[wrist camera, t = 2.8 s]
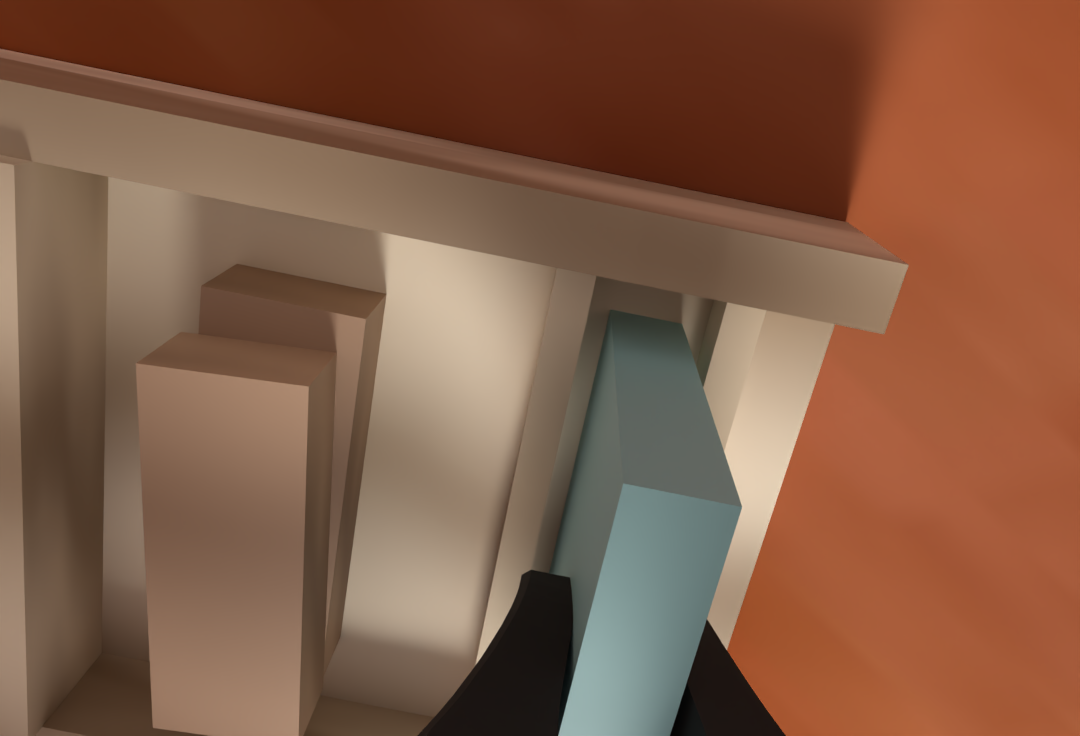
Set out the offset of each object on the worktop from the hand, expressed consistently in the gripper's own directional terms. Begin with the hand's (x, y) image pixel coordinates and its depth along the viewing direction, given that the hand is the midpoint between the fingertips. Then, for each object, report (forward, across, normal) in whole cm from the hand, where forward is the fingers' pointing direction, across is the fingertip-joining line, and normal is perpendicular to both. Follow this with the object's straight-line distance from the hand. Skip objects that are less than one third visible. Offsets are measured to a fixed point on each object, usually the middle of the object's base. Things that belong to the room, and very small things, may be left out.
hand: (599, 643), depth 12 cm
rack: (+4, +5, 0) cm, 7 cm away
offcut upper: (+2, +6, 0) cm, 6 cm away
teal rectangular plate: (+3, 0, 0) cm, 3 cm away
